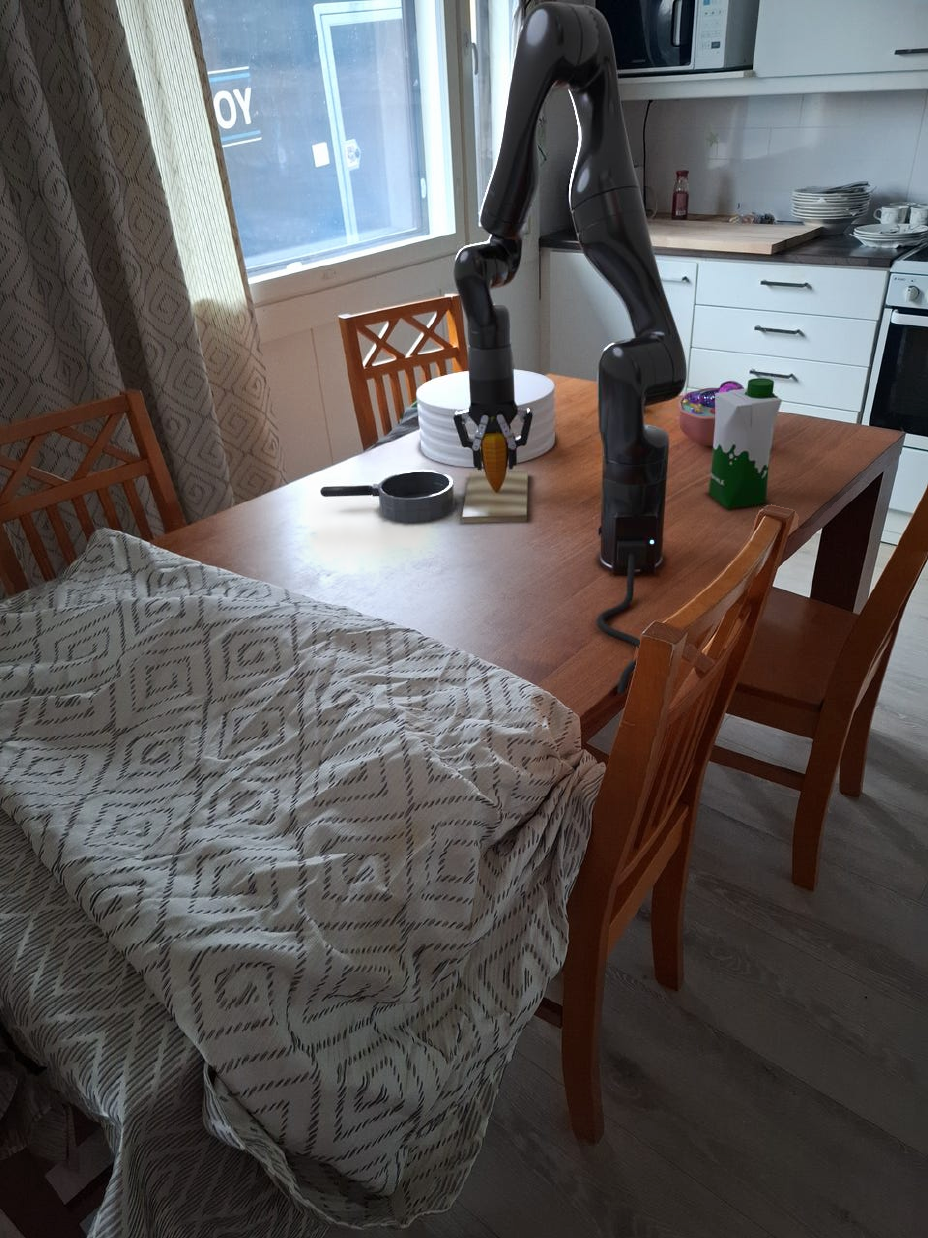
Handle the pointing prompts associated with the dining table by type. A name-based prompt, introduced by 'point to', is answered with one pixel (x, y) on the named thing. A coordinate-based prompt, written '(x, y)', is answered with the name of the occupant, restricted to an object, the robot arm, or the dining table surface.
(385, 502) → the pan
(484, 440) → the carrot
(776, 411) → the milk carton
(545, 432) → the plate stack
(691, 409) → the cell model
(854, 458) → the dining table surface
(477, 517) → the board
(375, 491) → the pan handle
